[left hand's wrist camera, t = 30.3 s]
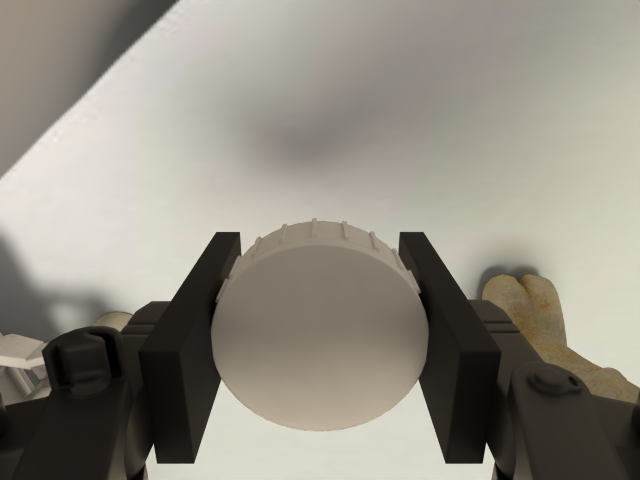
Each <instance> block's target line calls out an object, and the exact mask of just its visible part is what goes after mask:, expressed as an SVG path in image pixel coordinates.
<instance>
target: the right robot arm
mask: <svg viewBox="0 0 640 480" xmlns="http://www.w3.org/2000/svg"><path fill="white" fill-rule="evenodd" d="M48 343H49V342H48ZM48 343H44V342H43V341H39V340H35V339H32V338H28V337H24V336H20V335H16V334H9V335H5V336H2V334H1V333H0V392H1V395H2V398H3V401H4V404H5V405H10V404H14V403H19V402H22V401H23V400H24V399H25V398H26V397H27V396H28V395H29V394H30V393H31V392H32V391H33V389H34V388H35V387H34V385H33V384H32V382H31V381H30V379H29V377H28V376H27V374H26V373H25V371H24V369H29V370H32V371H33V372H34V374H35V375H36V377H37V378H38V380H43V379H47V378H48V374H47V371H46V367H45V363H44V359H43V356H42V352H41V351H42V350H43V349H44V347H45V346H46V345H47V344H48Z"/></svg>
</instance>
